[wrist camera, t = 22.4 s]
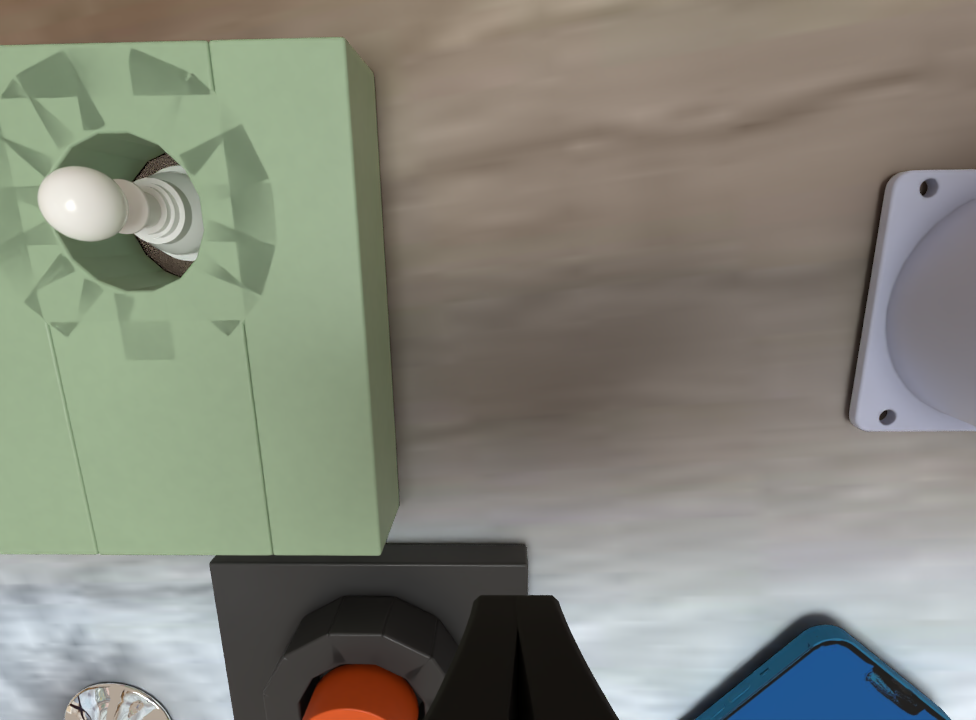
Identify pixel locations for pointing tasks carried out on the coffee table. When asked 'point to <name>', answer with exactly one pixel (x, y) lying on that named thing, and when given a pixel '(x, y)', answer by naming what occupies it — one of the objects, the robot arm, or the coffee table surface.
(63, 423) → the pod holder
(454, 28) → the coffee table surface
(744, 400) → the coffee table surface
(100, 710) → the wineglass
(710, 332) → the coffee table surface
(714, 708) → the smartphone
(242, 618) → the panel
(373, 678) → the button
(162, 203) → the chess pawn
